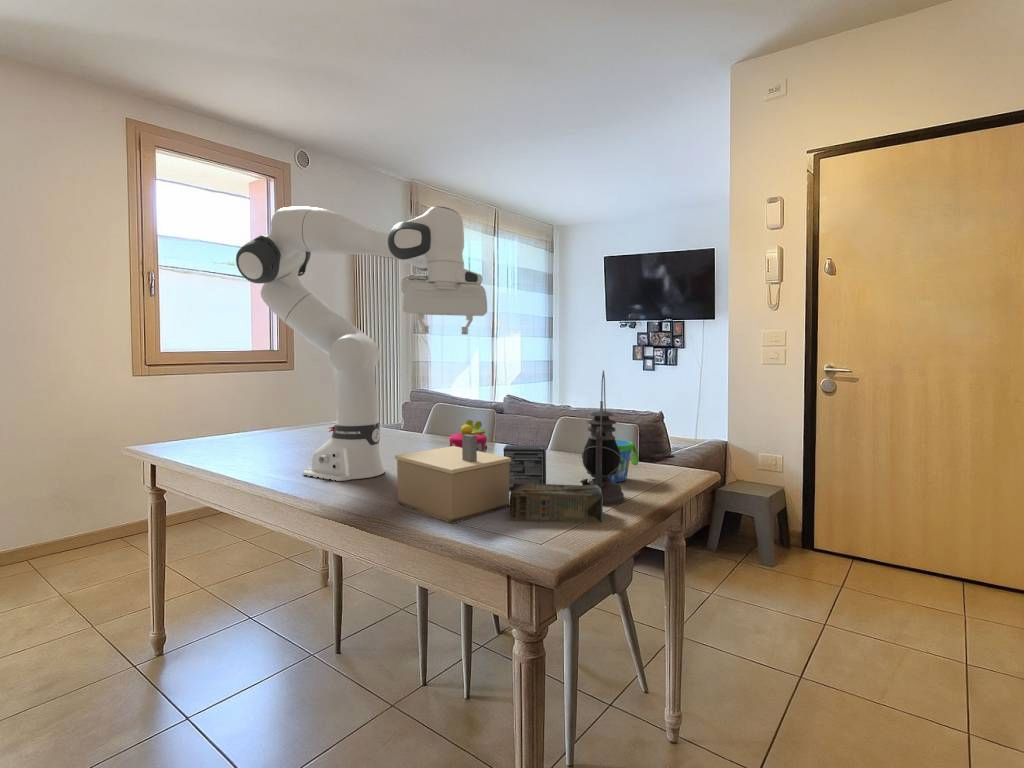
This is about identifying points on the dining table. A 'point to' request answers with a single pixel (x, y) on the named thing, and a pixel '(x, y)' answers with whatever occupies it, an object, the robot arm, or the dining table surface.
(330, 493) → the dining table surface
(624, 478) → the snack cup
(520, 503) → the beverage carton
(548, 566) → the dining table surface
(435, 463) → the lid flap
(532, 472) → the small box
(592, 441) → the lantern
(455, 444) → the cake
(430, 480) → the cardboard box
